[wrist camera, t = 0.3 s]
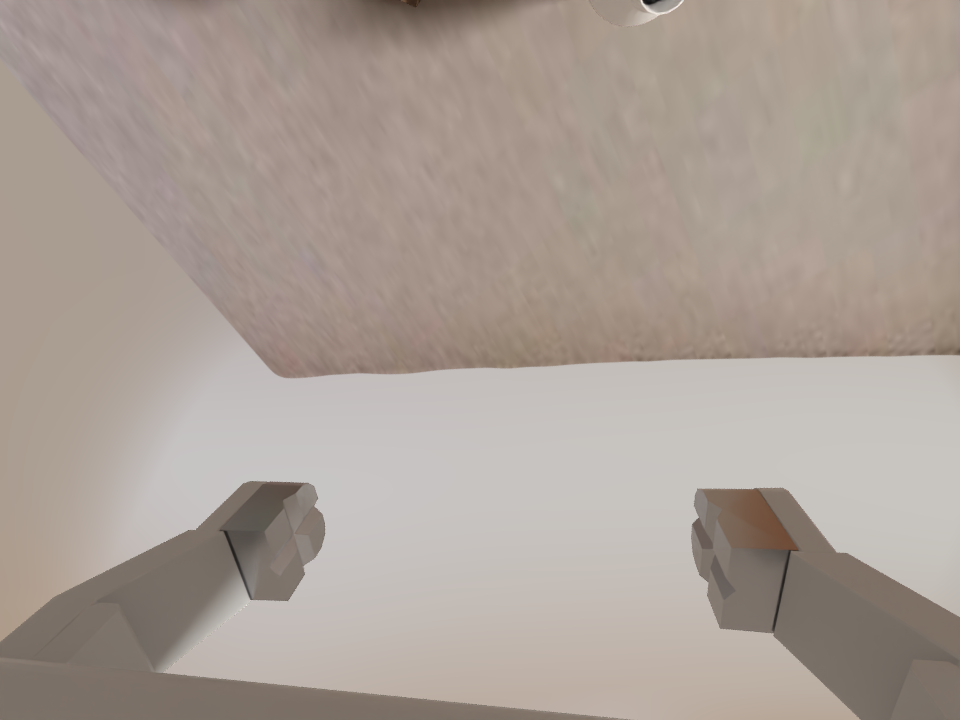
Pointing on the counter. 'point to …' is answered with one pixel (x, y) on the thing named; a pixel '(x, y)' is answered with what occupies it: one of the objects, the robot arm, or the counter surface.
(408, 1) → the walnut tunnel
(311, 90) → the counter surface
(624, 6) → the water bottle
